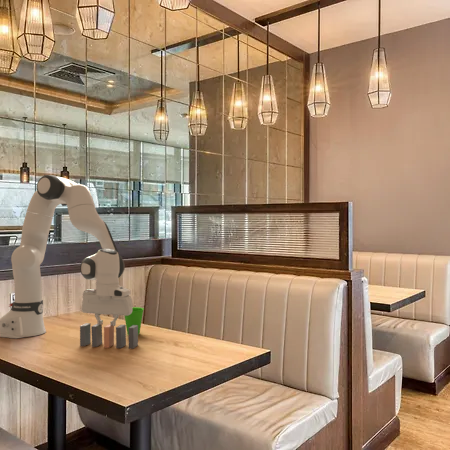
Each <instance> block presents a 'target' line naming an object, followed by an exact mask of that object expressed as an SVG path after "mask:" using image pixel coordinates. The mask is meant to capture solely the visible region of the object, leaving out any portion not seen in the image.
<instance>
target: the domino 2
mask: <svg viewBox="0 0 450 450" xmlns="http://www.w3.org/2000/svg"><path fill="white" fill-rule="evenodd" d="M102 325H103V324H102ZM102 325H97V323H95V324H93V325H92V326H91V347H92V348H98V347H99V346H101V345H103V326H102Z"/></svg>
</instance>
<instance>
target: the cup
mask: <svg viewBox="0 0 450 450" xmlns="http://www.w3.org/2000/svg"><path fill="white" fill-rule="evenodd" d="M144 310H145V308H143V307H139V306H138V307H137V306H136V307H135V306H134V307H133V311H132V313H131V314H130V315H128V316H125V315H123V316H124V321H125V325H126V335H127V336H129V327H131V326H133V325H138V336H139V335H140V333H141V327H142V326H141V325H142V320H143V313H144Z"/></svg>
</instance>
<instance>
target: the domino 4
mask: <svg viewBox="0 0 450 450" xmlns="http://www.w3.org/2000/svg"><path fill="white" fill-rule="evenodd" d="M115 337H116V338H115V345H116V349H122V348H124V347H125V346H126V345H127V328H126V324H120V325H117V326H116V327H115Z"/></svg>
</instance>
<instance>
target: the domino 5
mask: <svg viewBox="0 0 450 450" xmlns="http://www.w3.org/2000/svg"><path fill="white" fill-rule="evenodd" d="M138 345H139V335H138V325H133V326H131V327H129V335H128V349H131V350H132V349H133V350H134V349H135V348H137V347H138Z"/></svg>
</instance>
